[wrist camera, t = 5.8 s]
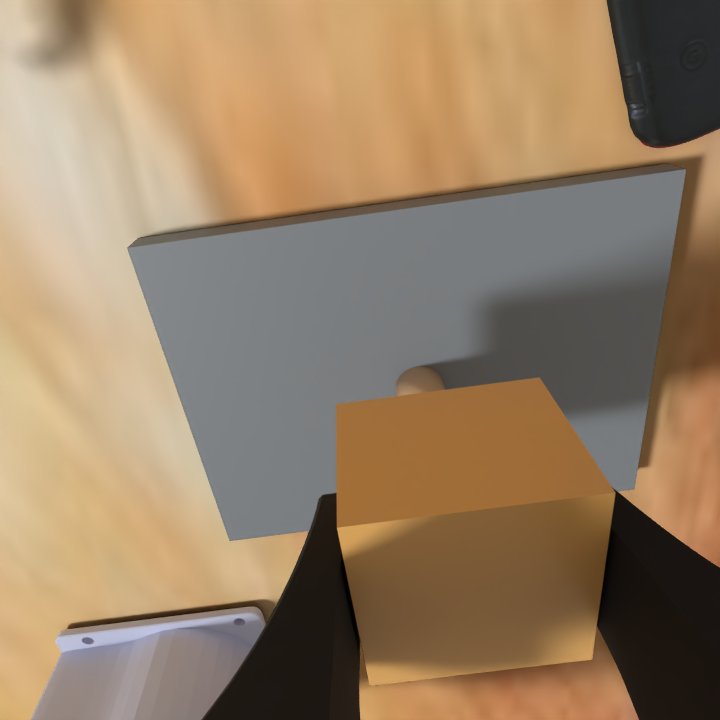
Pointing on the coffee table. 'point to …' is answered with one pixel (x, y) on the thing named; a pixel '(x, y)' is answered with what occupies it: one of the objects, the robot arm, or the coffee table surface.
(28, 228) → the coffee table surface
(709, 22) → the game console
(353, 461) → the cardboard carton
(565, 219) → the plate
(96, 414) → the coffee table surface
